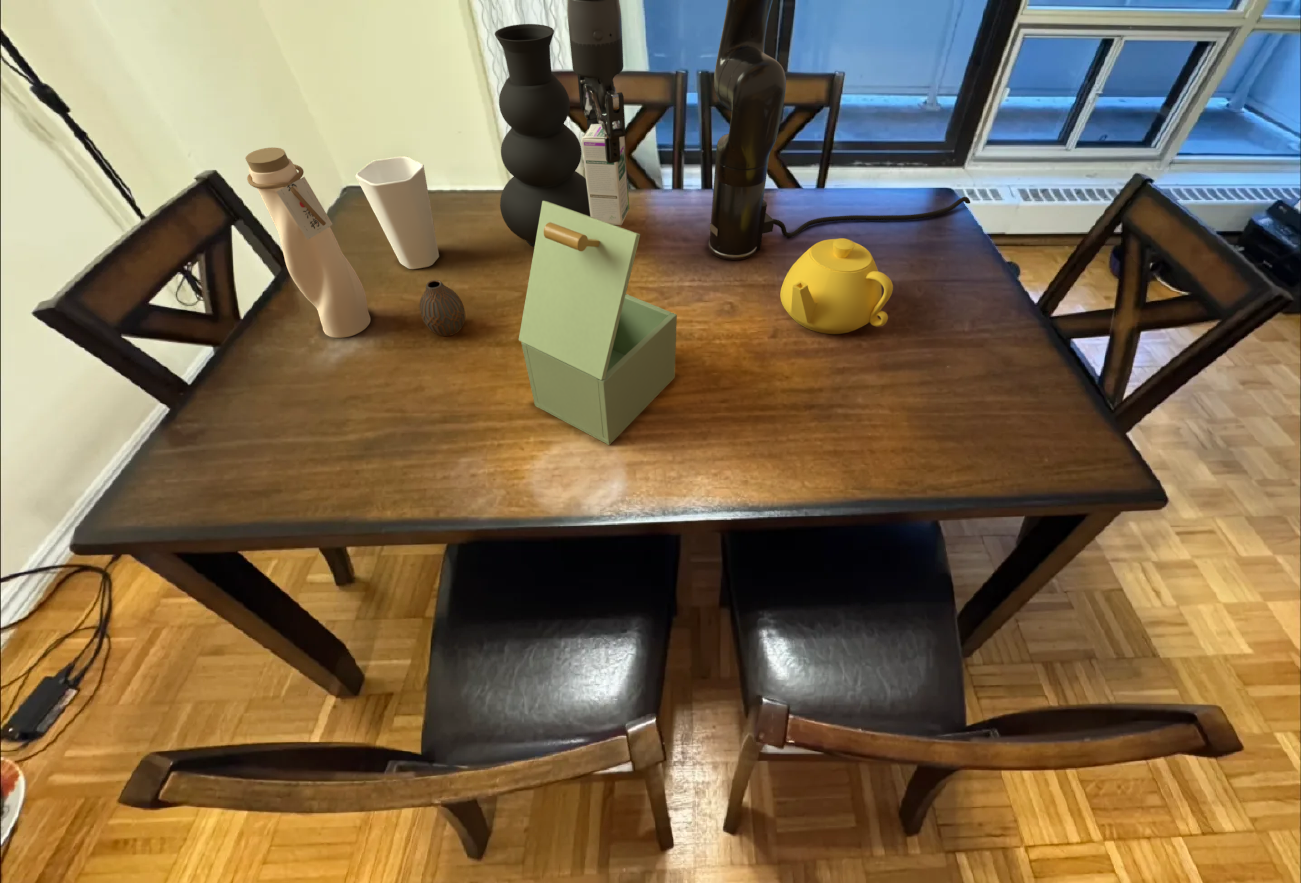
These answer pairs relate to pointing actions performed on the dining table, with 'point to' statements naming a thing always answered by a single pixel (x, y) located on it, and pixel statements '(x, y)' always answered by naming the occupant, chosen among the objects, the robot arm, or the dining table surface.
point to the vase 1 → (441, 309)
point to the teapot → (836, 288)
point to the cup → (402, 208)
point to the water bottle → (309, 243)
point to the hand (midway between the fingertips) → (604, 151)
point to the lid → (577, 287)
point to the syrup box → (605, 178)
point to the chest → (610, 374)
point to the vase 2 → (536, 133)
